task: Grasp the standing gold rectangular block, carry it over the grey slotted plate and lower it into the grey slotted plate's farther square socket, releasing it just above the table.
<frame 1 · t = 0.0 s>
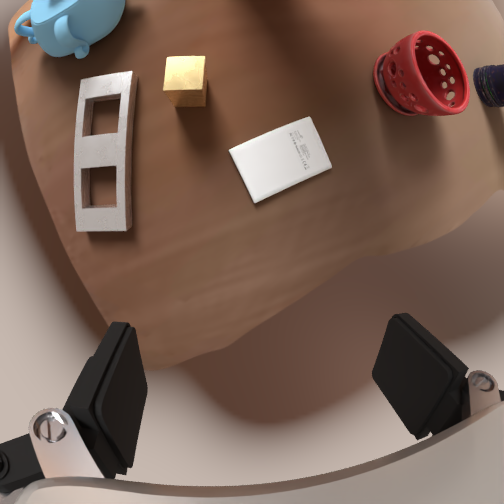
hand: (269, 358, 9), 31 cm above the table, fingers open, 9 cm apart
external hard drive: (280, 158, 38), on the table
decorative pot: (88, 21, 26), on the table
grey slotted plate: (106, 151, 34), on the table
gold rectangular block: (191, 92, 33), on the table
plant pot: (398, 84, 36), on the table
storage jar: (484, 87, 36), on the table
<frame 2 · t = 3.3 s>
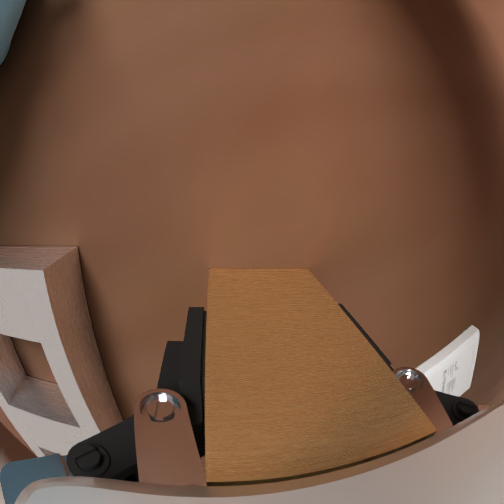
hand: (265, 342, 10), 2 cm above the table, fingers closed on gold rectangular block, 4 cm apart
external hard drive: (409, 394, 17), on the table
grey slotted plate: (69, 407, 13), on the table
gold rectangular block: (256, 312, 12), on the table, touching gripper
when the fingers open (3 cm above the table, at t = 7.4 s): gold rectangular block drops 1 cm, resting in grey slotted plate.
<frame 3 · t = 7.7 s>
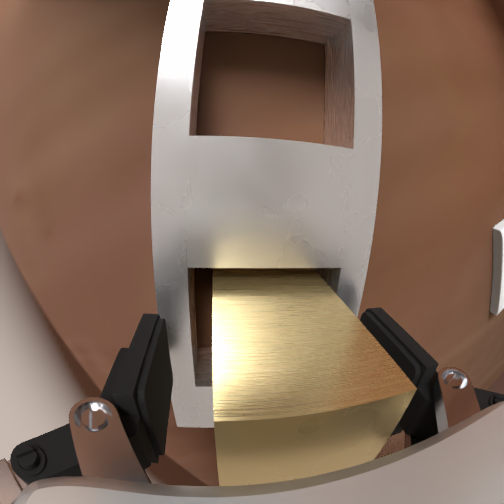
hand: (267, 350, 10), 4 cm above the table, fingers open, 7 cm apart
grey slotted plate: (259, 196, 12), on the table
gold rectangular block: (256, 298, 13), resting in grey slotted plate
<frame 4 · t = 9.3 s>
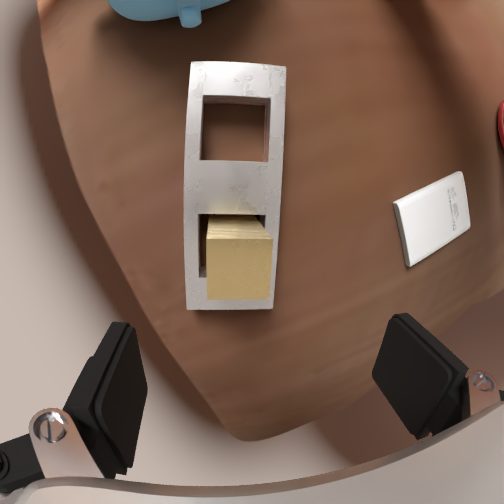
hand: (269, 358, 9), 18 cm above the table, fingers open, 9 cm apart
external hard drive: (431, 214, 30), on the table
grey slotted plate: (231, 185, 25), on the table
gold rectangular block: (231, 237, 27), resting in grey slotted plate
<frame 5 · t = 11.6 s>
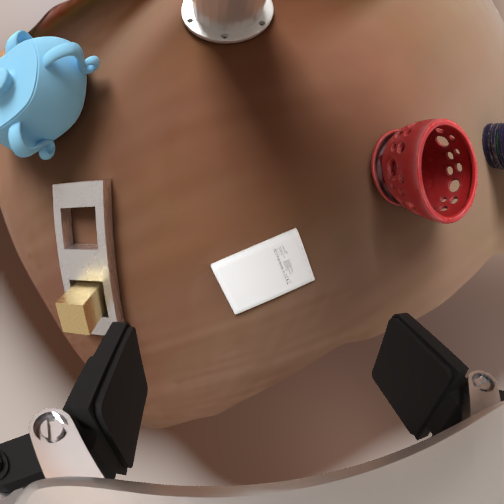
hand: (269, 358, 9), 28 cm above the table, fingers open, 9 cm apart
external hard drive: (263, 269, 40), on the table
decorative pot: (53, 98, 27), on the table
grey slotted plate: (91, 258, 35), on the table
gold rectangular block: (96, 289, 37), resting in grey slotted plate
plant pot: (398, 166, 37), on the table
storage jar: (492, 145, 38), on the table
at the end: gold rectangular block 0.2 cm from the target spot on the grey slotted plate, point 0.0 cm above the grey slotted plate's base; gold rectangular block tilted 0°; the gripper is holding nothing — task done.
